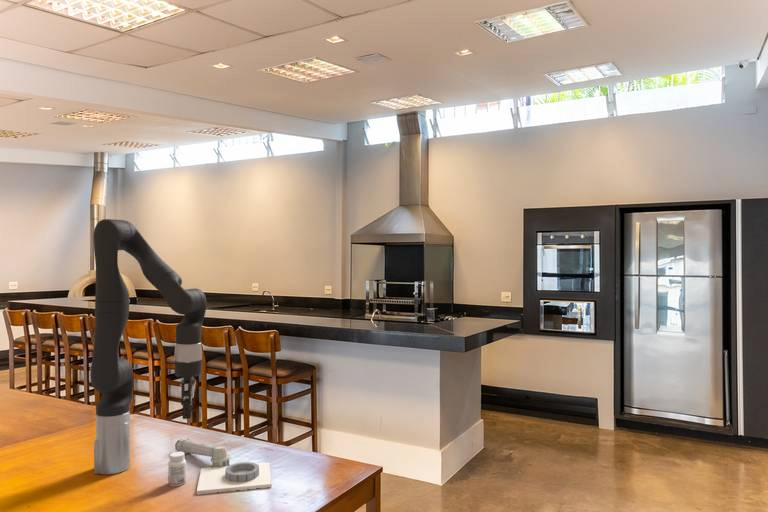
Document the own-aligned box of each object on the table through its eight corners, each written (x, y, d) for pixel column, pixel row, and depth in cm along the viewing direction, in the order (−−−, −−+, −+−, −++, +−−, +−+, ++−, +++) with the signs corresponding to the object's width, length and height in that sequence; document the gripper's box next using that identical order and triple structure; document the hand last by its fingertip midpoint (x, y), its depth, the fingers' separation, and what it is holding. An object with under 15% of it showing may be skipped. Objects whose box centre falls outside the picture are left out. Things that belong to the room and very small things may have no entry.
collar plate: (196, 494, 154) (196, 483, 154) (201, 471, 170) (201, 461, 170) (271, 487, 159) (271, 476, 159) (269, 465, 174) (269, 456, 174)
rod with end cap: (186, 436, 190) (232, 442, 174) (188, 456, 189) (234, 464, 174) (172, 440, 185) (218, 447, 170) (174, 461, 185) (220, 470, 170)
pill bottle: (171, 479, 164) (171, 451, 163) (188, 479, 164) (188, 450, 164) (166, 487, 159) (166, 457, 159) (183, 486, 159) (183, 456, 159)
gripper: (176, 353, 169) (176, 407, 170) (171, 363, 156) (171, 422, 156) (203, 353, 171) (202, 406, 172) (200, 362, 157) (200, 420, 158)
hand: (187, 414), depth 164 cm, fingers open, 8 cm apart
